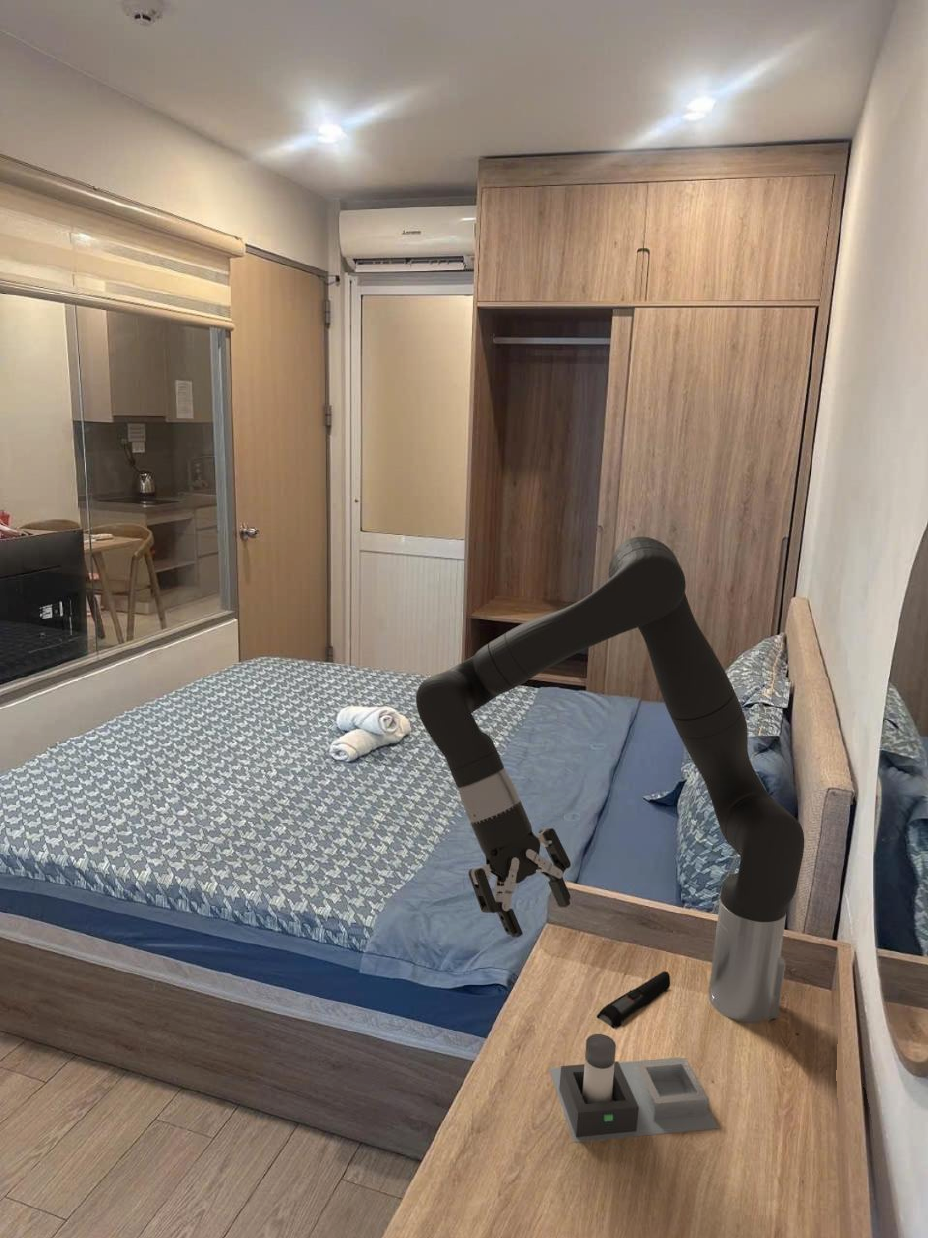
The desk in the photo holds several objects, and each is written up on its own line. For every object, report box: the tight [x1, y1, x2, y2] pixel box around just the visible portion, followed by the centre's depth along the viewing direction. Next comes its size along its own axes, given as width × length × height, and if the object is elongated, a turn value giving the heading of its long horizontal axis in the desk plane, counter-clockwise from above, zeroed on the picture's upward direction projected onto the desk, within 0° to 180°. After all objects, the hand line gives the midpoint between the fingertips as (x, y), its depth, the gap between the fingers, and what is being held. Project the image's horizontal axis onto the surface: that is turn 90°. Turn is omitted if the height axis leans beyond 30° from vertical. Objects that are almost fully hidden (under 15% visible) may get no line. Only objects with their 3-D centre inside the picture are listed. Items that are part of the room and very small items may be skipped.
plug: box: [582, 1033, 617, 1104], centre depth 107 cm, size 4×4×10 cm
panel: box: [548, 1056, 720, 1144], centre depth 110 cm, size 18×12×1 cm, turn 99°
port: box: [559, 1060, 639, 1137], centre depth 107 cm, size 8×8×4 cm
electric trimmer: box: [596, 970, 671, 1029], centre depth 128 cm, size 4×16×3 cm, turn 132°
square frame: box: [634, 1057, 710, 1121], centre depth 110 cm, size 7×7×2 cm
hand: (541, 920), depth 117 cm, fingers open, 8 cm apart
